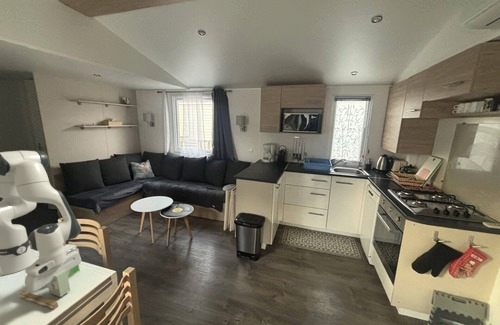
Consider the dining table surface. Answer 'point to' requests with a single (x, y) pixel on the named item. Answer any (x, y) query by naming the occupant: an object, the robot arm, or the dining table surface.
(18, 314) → the dining table surface
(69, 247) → the skincare box
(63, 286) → the sage tea box
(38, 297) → the rail
